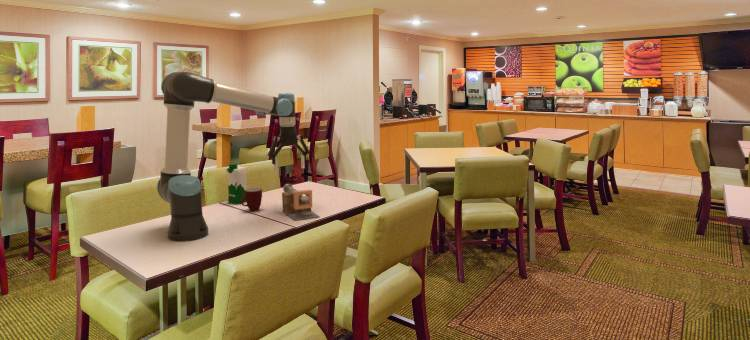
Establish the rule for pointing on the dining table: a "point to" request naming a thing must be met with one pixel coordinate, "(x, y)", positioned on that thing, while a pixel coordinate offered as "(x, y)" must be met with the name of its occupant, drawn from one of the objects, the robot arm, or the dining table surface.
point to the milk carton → (236, 183)
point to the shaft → (290, 189)
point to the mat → (303, 215)
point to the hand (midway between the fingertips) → (289, 169)
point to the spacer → (296, 199)
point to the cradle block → (291, 203)
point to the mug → (252, 198)
